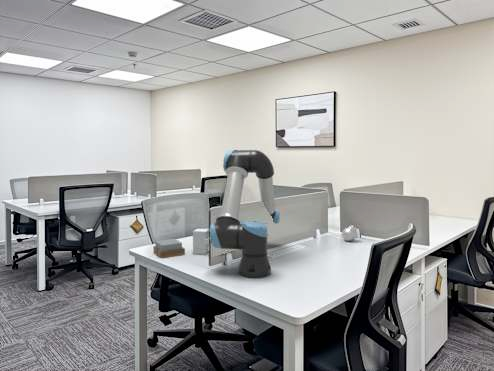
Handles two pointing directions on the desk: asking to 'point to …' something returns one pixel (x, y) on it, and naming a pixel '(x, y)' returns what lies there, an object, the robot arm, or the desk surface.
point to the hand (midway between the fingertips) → (199, 239)
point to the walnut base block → (169, 252)
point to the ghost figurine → (349, 233)
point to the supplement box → (200, 241)
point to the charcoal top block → (168, 244)
